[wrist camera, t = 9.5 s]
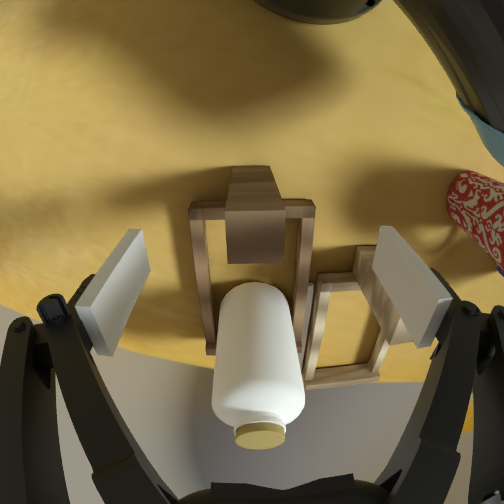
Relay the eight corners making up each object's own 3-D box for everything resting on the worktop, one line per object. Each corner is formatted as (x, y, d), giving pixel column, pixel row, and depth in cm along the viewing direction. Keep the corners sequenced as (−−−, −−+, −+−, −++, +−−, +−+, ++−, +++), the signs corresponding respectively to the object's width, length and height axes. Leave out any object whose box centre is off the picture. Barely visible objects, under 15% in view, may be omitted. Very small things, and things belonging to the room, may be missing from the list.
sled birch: (321, 247, 32) (353, 320, 21) (413, 245, 32) (466, 306, 21) (302, 374, 43) (313, 441, 32) (372, 366, 43) (394, 426, 32)
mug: (432, 182, 28) (510, 234, 17) (480, 151, 26) (559, 188, 14) (451, 260, 34) (507, 322, 22) (494, 229, 31) (552, 279, 20)
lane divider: (306, 282, 34) (308, 286, 34) (312, 282, 34) (313, 286, 34) (295, 367, 42) (296, 371, 42) (300, 367, 42) (301, 371, 42)
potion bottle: (206, 299, 35) (187, 434, 20) (263, 265, 33) (277, 407, 17) (246, 338, 39) (248, 462, 23) (300, 310, 37) (327, 439, 21)
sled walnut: (188, 168, 27) (153, 214, 17) (313, 166, 27) (355, 210, 17) (208, 338, 38) (200, 415, 28) (298, 336, 38) (312, 411, 28)
